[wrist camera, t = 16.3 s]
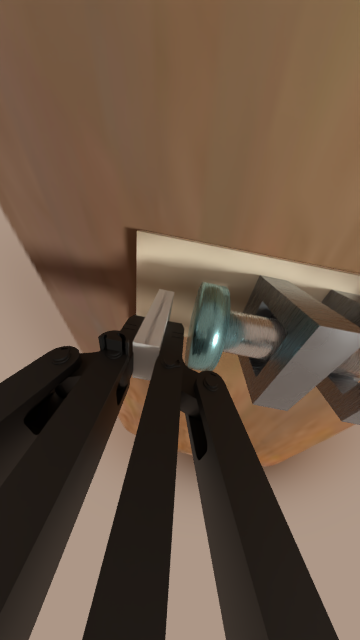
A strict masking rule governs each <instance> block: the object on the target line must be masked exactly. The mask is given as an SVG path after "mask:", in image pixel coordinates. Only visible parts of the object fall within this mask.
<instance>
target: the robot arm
mask: <svg viewBox="0 0 360 640" xmlns="http://www.w3.org/2000/svg"><path fill="white" fill-rule="evenodd" d="M173 298H174V292H172V291H167V290H162V289H159V291H158V293H157V295H156V297H155V299H154V301H153V303H152V305H151V307H150V309H149V311H148V313H147V315H146V317H143V316H137V315H133V316H132V317H130V318H129V319H128V320H127V322H126V323H125V325H124V326H123V328H122V329H121V331H115V330H113V331H108V332H105V333H103V334H101V335H100V336H99V337H98V338H99V344H100V351H99V352H93V353H79V350H78V349H77V348H75V347H72V346H63V347H59V348H56V349H54V350H52V351H50V352H48V353H46V354H45V355H43V356H42V357H40V358H38V359H37V360H35V361H34V362H32V363H31V364H29V365H28V366H26V367H24V368H23V369H21V370H20V371H18V372H17V373H15V374H14V375H12V376H10V377H9V378H7V379H6V380H4V381H3V382H1V383H0V640H28V639H29V637H30V635H31V632H32V630H33V627H34V625H35V622H36V620H37V617H38V615H39V612H40V610H41V607H42V605H43V602H44V600H45V597H46V595H47V592H48V589H49V587H50V585H51V582H52V580H53V577H54V574H55V572H56V570H57V567H58V564H59V562H60V559H61V557H62V554H63V552H64V549H65V547H66V544H67V542H68V539H69V537H70V534H71V532H72V529H73V527H74V524H75V522H76V519H77V517H78V514H79V512H80V509H81V507H82V504H83V502H84V499H85V497H86V494H87V492H88V489H89V487H90V484H91V481H92V479H93V477H94V474H95V471H96V469H97V466H98V464H99V461H100V459H101V456H102V454H103V451H104V449H105V446H106V444H107V441H108V439H109V436H110V434H111V431H112V429H113V426H114V423H115V421H116V419H117V416H118V414H119V411H120V409H121V406H122V404H123V401H124V399H125V396H126V394H127V391H128V389H129V385H130V378H131V375H132V373H133V377H134V378H139V379H145V380H150V384H149V388H148V392H147V395H146V399H145V403H144V407H143V411H142V414H141V418H140V422H139V426H138V430H137V434H136V437H135V441H134V445H133V449H132V453H131V456H130V460H129V464H128V468H127V472H126V476H125V479H124V483H123V487H122V491H121V495H120V499H119V502H118V506H117V510H116V514H115V517H114V521H113V525H112V529H111V533H110V536H109V540H108V544H107V548H106V552H105V555H104V559H103V563H102V567H101V571H100V574H99V578H98V582H97V586H96V589H95V593H94V597H93V601H92V605H91V608H90V612H89V616H88V620H87V624H86V627H85V631H84V635H83V639H82V640H165V634H166V618H167V602H168V588H169V572H170V556H171V555H170V554H171V542H172V525H173V510H174V495H175V479H176V465H177V450H178V434H179V419H180V411H182V412H184V413H185V416H186V421H187V427H188V432H189V438H190V443H191V449H192V454H193V460H194V465H195V470H196V476H197V482H198V487H199V492H200V498H201V504H202V509H203V515H204V520H205V526H206V531H207V536H208V542H209V548H210V553H211V559H212V564H213V570H214V576H215V581H216V586H217V592H218V597H219V603H220V609H221V614H222V620H223V625H224V631H225V636H226V640H339V639H338V637H337V635H336V632H335V630H334V628H333V625H332V623H331V621H330V619H329V617H328V614H327V612H326V610H325V608H324V606H323V603H322V601H321V598H320V596H319V594H318V592H317V590H316V587H315V585H314V583H313V580H312V578H311V577H310V574H309V571H308V569H307V567H306V565H305V563H304V560H303V558H302V556H301V554H300V551H299V549H298V547H297V544H296V542H295V540H294V538H293V535H292V533H291V531H290V529H289V526H288V525H287V522H286V520H285V517H284V515H283V513H282V511H281V509H280V506H279V504H278V502H277V500H276V497H275V495H274V493H273V490H272V488H271V486H270V484H269V482H268V479H267V477H266V475H265V472H264V471H263V468H262V466H261V463H260V461H259V459H258V457H257V454H256V452H255V450H254V448H253V445H252V443H251V441H250V439H249V436H248V434H247V432H246V430H245V427H244V425H243V423H242V421H241V418H240V416H239V414H238V412H237V409H236V407H235V405H234V403H233V400H232V398H231V396H230V394H229V391H228V389H227V387H226V385H225V382H224V381H223V379H222V378H221V377H220V376H219V375H218V374H217V373H215V372H213V371H208V370H206V371H202V372H200V373H198V372H196V371H194V370H192V369H190V368H188V367H187V366H186V365H185V363H184V362H183V359H182V351H183V339H184V327H183V325H182V323H177V322H171V321H170V315H171V309H172V304H173Z"/></svg>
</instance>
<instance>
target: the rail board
mask: <svg viewBox="0 0 360 640" xmlns="http://www.w3.org/2000/svg"><path fill="white" fill-rule="evenodd" d="M260 275H262V276H267V277H272V278H277V279H282V280H287V281H289V282H290V283H292V284H294V285H295V286H297V287H298V288H300V289H301V290H303V291H304V292H306V293H307V294H309V295H310V296H312V297H314V298H315V299H317V300H318V301H320V302H322V301H323V299H324V298H325V297H326V296H327V294H328V293H329V292H330V290H331V289H332V290H337V291H342V292H347V293H352V294H357V295H360V274H358V273H353V272H348V271H343V270H338V269H333V268H328V267H323V266H318V265H313V264H308V263H303V262H298V261H293V260H288V259H283V258H279V257H274V256H269V255H264V254H259V253H254V252H249V251H244V250H239V249H234V248H229V247H224V246H219V245H214V244H209V243H204V242H199V241H195V240H190V239H185V238H180V237H175V236H170V235H165V234H160V233H155V232H150V231H145V230H138V231H137V271H136V315H137V316H143V317H146V315H147V313H148V311H149V309H150V307H151V305H152V303H153V301H154V299H155V297H156V295H157V293H158V291H159V289H162V290H167V291H172V292H174V298H173V304H172V309H171V315H170V321H171V322H177V323H182V325H183V327H184V336H185V337H188V332H189V326H190V321H191V316H192V312H193V308H194V304H195V300H196V296H197V293H198V290H199V287H200V285H201V283H202V282H206V283H211V284H216V285H221V286H226V287H227V288H228V290H229V293H230V301H231V308H230V310H232V311H237V312H243V310H244V308H245V306H246V304H247V302H248V300H249V298H250V295H251V293H252V291H253V289H254V287H255V285H256V283H257V280H258V278H259V276H260Z"/></svg>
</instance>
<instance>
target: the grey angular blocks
mask: <svg viewBox="0 0 360 640" xmlns="http://www.w3.org/2000/svg"><path fill="white" fill-rule="evenodd" d="M242 313H247V314H252V315H257V316H263V317H268V318H273V319H278V321H279V322H280V323H281V324H282V325H283V327H284V328H285V329H286V330H287V331H288V333H289V334H288V335H287V336H286V338H285V339H284V341H283V342H282V343H281V345H280V346H279V347H278V349H277V350H276V351H275V353H274V354H273V355H272V357H271V358H270V360H269V361H268V360H262V359H257V358H252V357H247V356H242V355H238V357H239V361H240V364H241V367H242V370H243V374H244V377H245V380H246V384H247V387H248V390H249V394H250V397H251V400H252V403H253V404H254V405H259V406H264V407H270V408H275V409H280V410H285V411H287V410H289V409H290V408H291V407H292V406H293V405H294V404H296V403H297V402H298V401H299V400H300V399H301V398H303V397H304V396H305V395H306V394H307V393H308V392H309V391H311V390H312V389H313V388H314V387H315V386H316V387H317V388H318V389H319V391H320V392H321V393H322V395H323V396H324V398H325V399H326V400H327V402H328V403H329V405H330V406H331V407H332V409H333V410H334V411H335V413H336V414H337V416H338V417H339V418H340V420H341V421H343V422H348V423H353V424H359V425H360V383H358V381H359V380H360V378H355V377H350V376H345V375H339V374H334V373H331V372H333V371H334V370H335V369H336V368H337V367H338V366H340V365H341V364H342V363H343V362H344V361H345V360H347V359H348V358H349V357H350V356H351V355H352V354H353V353H355V352H356V351H357V350H358V349H359V348H360V295H357V294H352V293H347V292H342V291H337V290H332V289H331V290H330V292H329V293H328V294H327V296H326V297H325V298H324V299H323V301H322V302H320V301H318V300H317V299H315V298H314V297H312V296H310V295H309V294H307V293H306V292H304V291H303V290H301V289H300V288H298V287H297V286H295V285H294V284H292V283H290V282H289V281H287V280H282V279H277V278H272V277H267V276H262V275H260V276H259V278H258V280H257V283H256V285H255V287H254V289H253V291H252V293H251V295H250V298H249V300H248V302H247V304H246V306H245V308H244V310H243V312H242Z"/></svg>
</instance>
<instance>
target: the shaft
mask: <svg viewBox="0 0 360 640" xmlns="http://www.w3.org/2000/svg"><path fill="white" fill-rule="evenodd" d="M230 308H231V301H230V293H229V290H228V288H227V287H226V286H221V285H216V284H211V283H206V282H202V283H201V285H200V287H199V290H198V293H197V296H196V300H195V304H194V308H193V312H192V316H191V321H190V326H189V332H188V338H187V345H186V353H185V365H186V366H187V367H188V368H190V369H195V370H200V371H206V370H208V371H213V370H214V368H215V367H216V365H217V363H218V362H219V359H220V357H221V354H222V352H226V353H232V354H237V355H242V356H247V357H252V358H257V359H262V360H268V361H269V360H270V358H271V357H272V355H273V354H274V353H275V351H276V350H277V349H278V347H279V346H280V345H281V343H282V342H283V341H284V339H285V338H286V336H287V335H288V334H289V333H288V331H287V330H286V329H285V328H284V327H283V325H282V324H281V323H280V322H279V321H278V319H273V318H268V317H263V316H257V315H252V314H247V313H242V312H237V311H232V310H230ZM331 373H334V374H339V375H345V376H350V377H355V378H360V348H359V349H358V350H357V351H356V352H355V353H353V354H352V355H351V356H350V357H349V358H348V359H347V360H345V361H344V362H343V363H342V364H341V365H340V366H338V367H337V368H336V369H335V370H334V371H333V372H331Z"/></svg>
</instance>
